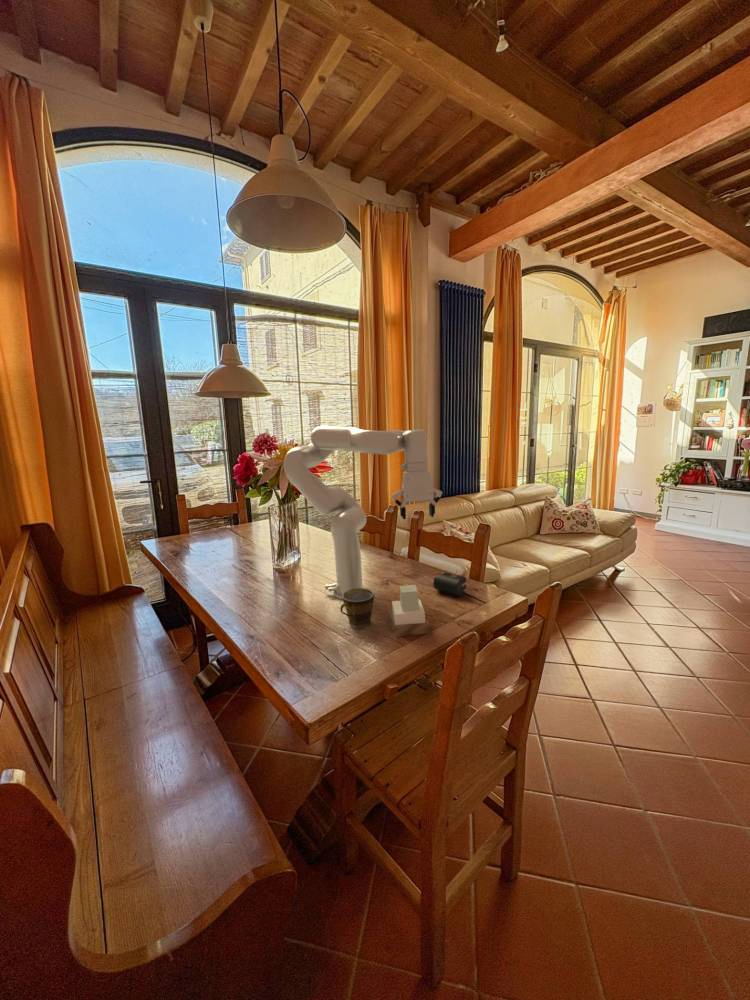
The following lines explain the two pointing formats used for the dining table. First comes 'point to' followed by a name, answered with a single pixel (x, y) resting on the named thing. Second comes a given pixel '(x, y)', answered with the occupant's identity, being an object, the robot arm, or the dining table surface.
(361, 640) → the dining table surface
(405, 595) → the green block
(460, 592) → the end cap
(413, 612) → the white slab
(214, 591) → the dining table surface
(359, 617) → the ceramic cup
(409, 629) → the walnut slab
